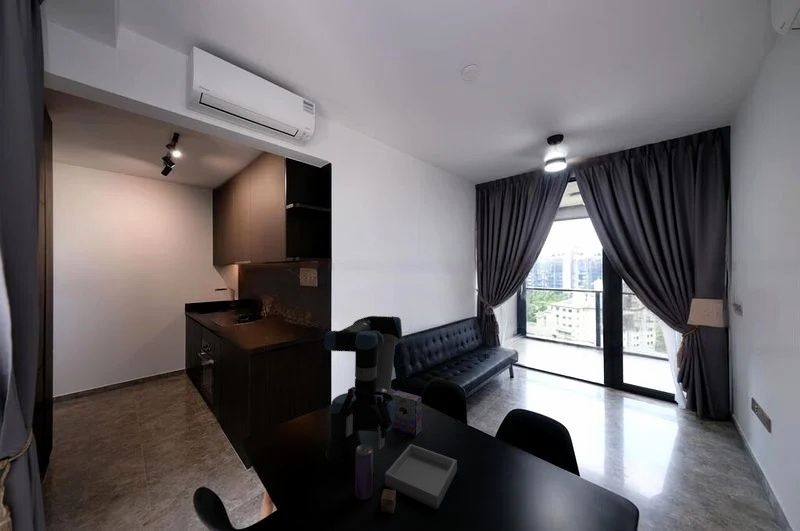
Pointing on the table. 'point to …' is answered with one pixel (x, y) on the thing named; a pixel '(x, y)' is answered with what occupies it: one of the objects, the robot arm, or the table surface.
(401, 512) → the table surface
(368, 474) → the beverage can
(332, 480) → the table surface
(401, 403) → the candy box
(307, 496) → the table surface
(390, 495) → the oak block
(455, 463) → the bin
